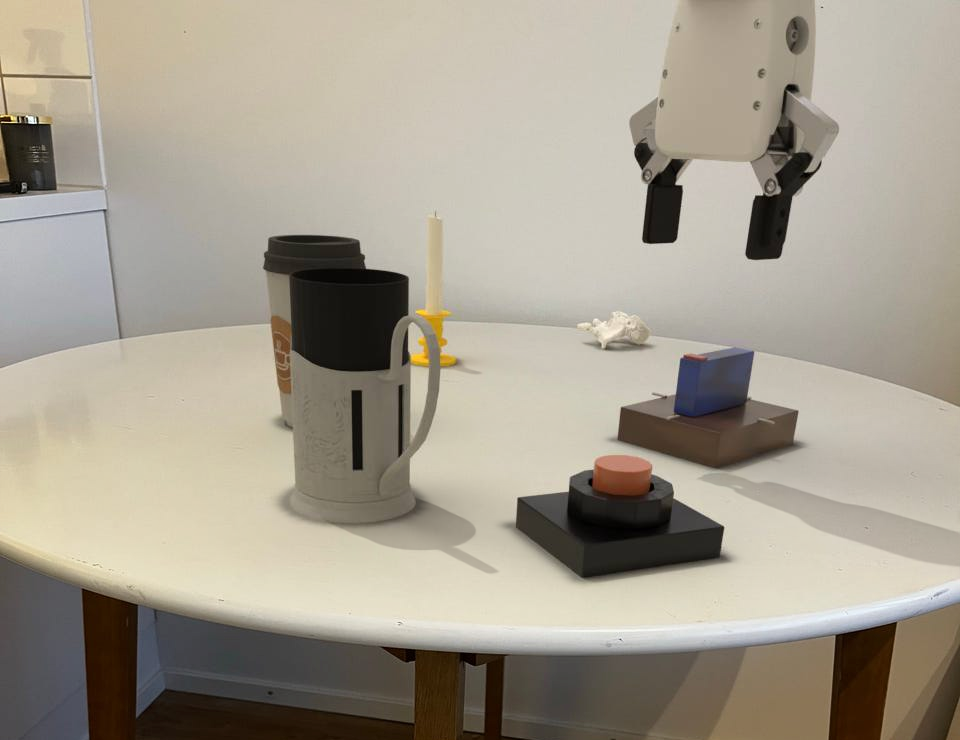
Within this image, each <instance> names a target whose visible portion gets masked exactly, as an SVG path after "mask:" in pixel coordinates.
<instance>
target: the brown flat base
mask: <svg viewBox="0 0 960 740" xmlns="http://www.w3.org/2000/svg"><path fill="white" fill-rule="evenodd" d="M651 395H652V396H656V397H657V398H654V399H648V400H645V401H641V402H637V403H632V404H627V405H623V406H620V409H619V410H620V411H619V419H618V430H617V441H618V442H622V443H625V444H629V445H631V446H632V445H633V446H635V447H639V448H643V449H646V450H649V451H653V452H657V453H660V454H663V455H667V456H671V457H672V458H673V457H674V458H677V459H681V460H684V461H688V462H691V463H695V464H697V465H701V466H705V467H708V468H712V469H719V468H721V467H724V466H725V467H726V466H728V465H730V464H733V463H738V462H740V461H742V460H747V459H748V458H752V457H756V456H758V455H761V454H765V453H767V452H770V451H774V450H777V449H780V448H783V447H786V446H789V445H792V444H794V440H795V433H796V429H797V424H798V418H799V410H798V409H794V408H789V407H785V406H781V405H777V404H772V403H769V402H763V401H760V400H755V399H752V396H747V402H746V404H742V405H738V406H735V407H731V408H727V409H723V410H719V411H715V412H711V413H708V414H704V415H700V416H696V417H689V416H686V415H682V414H678V413H674V404H675V396H676V393H675V394H671V395H667V394H663V393H660V392H659V393H658V392H655V391H654V392H652V393H651Z"/></svg>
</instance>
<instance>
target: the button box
mask: <svg viewBox="0 0 960 740" xmlns="http://www.w3.org/2000/svg"><path fill="white" fill-rule="evenodd" d="M593 473H594V469H585V470H582V471H580V472H578V473H575V474H573V475H571V476H569V481H568V491H562V492H561V491H560V492H552V493H543V494H536V495H535V494H534V495H525V496H519V497H517V498H516V501H517V502H516V516H515V528H516V529H517V530H519V531H520V532H521V533H522V534H524V535H525V536H526V537H528V538H529V539H530V540H531V541H533V542H534V543H535V544H537V545H538V546H539V547H540V548H541V549H543V550H544V551H546V552H547V553H549V555H551V556H552V557H554V559H556V560H557V561H559V562H560V563H562V564H563V565H564V566H566V568H568V569H569V570H571V571H572V572H573V573H574V574H575V575H577V576H578V577H579V578H581V579H586V578H593V577H599V576H606V575H614V574H620V573H626V572H632V571H633V572H634V571H638V570H639V571H640V570H647V569H652V568H653V569H654V568H659V567H666V566H673V565H679V564H686V563H691V562H693V563H694V562H699V561H707V560H711V559H720V557H721V552H722V545H723V539H724V533H725V526H724V525H723V524H721V523H719V522H717V521H715V520H714V519H712V518H710V517H708V516H707V515H705V514H703V513H701V512H699V511H698V510H696V509H694V508H692V507H691V506H688V505H687V504H685V503H683V502H681V501H680V500H679V499H676V498H675V497H674V496H675V490H674V486H673V483H671V482H669V481H668V480H666V479H664V478H662V477H660V476H658V475H656V474H651V483H650V491H649V493H647V494H643V495H634V496H630V495H616V494H609V493H605V492H601V491H597V490H596V489H594V488H593V487H592V483H593Z"/></svg>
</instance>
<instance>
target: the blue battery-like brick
mask: <svg viewBox="0 0 960 740" xmlns="http://www.w3.org/2000/svg"><path fill="white" fill-rule="evenodd" d="M754 357H755V351H754V350H751V349H746V348H741V347H736V346H735V347H730V348H724V349H719V350H714V351H708V352H703V353H698V354H695V353H685V354H683V356H682V357H680V358H679V366H678V374H677V381H676V390H675V394H676V396H675V404H674V413H678V414H682V415H686V416H689V417H696V416H700V415H704V414H708V413H711V412H715V411H719V410H723V409H727V408H731V407H735V406H738V405H742V404H746V402H747V397H748V395H749V389H750V383H751V377H752V376H751V375H752V369H753V363H754Z"/></svg>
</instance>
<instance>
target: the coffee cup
mask: <svg viewBox="0 0 960 740" xmlns="http://www.w3.org/2000/svg"><path fill="white" fill-rule="evenodd" d="M267 241H268V242H267V250H265V251H264V252H263V258H264V262H263V267H262V269H263V270H264V271H265V277H266V285H267V293H268V303H269V312H270V321H269V322H270V329H271V338H272V347H273V356H274V365H275V372H276V374H275V375H276V381H277V387H278V391H279V399H280V400H279V401H280V409H281V417H282V419H283V420H284V421H285V424H286V425H287V426H288V427H290V428H292V429H293V418H292V395H291V372H290V337H291V333H292V330H291V307H290V283H289V274H290V273H292V272H294V271H299V270H305V269H315V268H362V269H367V267H366V263H365V262H366V261H365V260H366V255H365V254H364V253H362V250H361V249H362V248H361V241H360V240H359V239H357V238H353V237H347V236H337V235H325V234H324V235H323V234H284V235H274V236H270V237H268V238H267Z"/></svg>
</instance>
